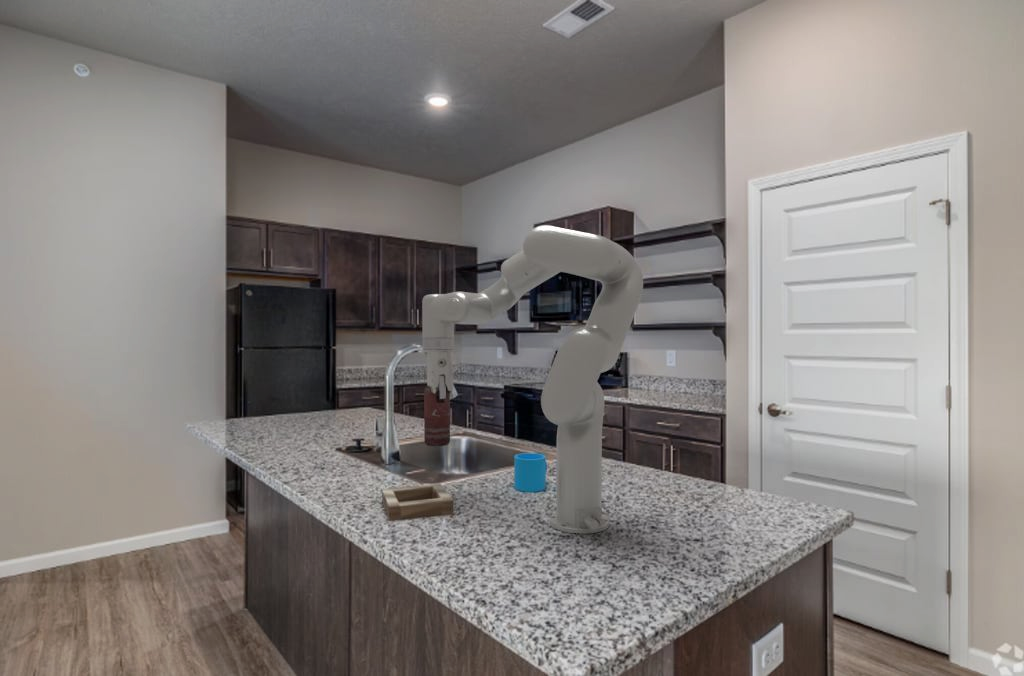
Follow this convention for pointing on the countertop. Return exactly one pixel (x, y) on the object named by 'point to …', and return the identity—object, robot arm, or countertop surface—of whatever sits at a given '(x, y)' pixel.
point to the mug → (530, 472)
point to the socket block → (416, 502)
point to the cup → (436, 419)
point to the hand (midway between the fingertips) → (438, 421)
